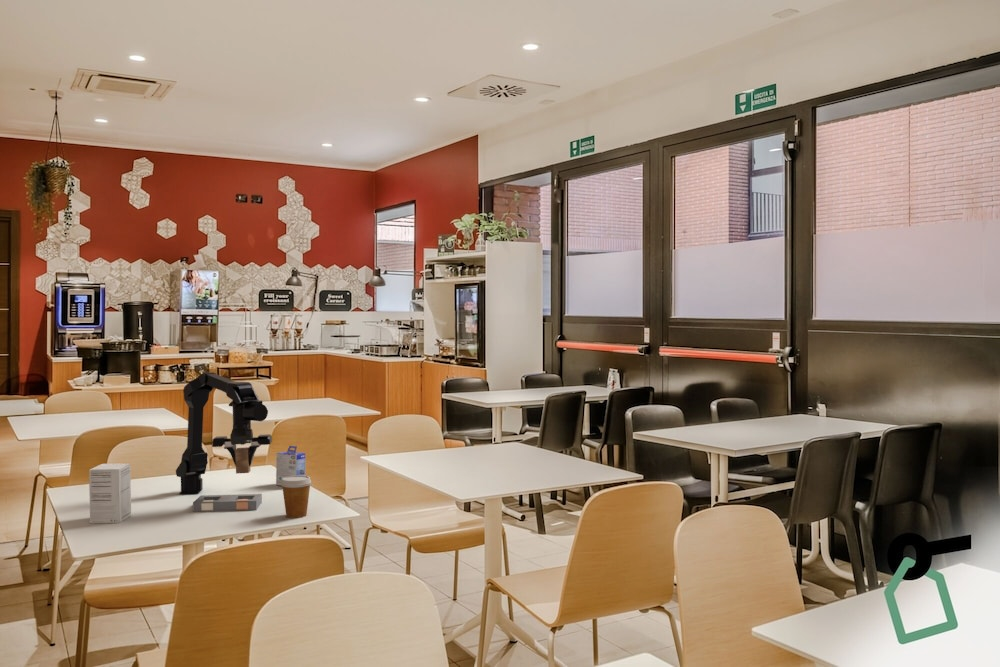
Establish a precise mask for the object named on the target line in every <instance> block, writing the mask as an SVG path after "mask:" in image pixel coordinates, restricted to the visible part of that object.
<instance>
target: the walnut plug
mask: <svg viewBox="0 0 1000 667" xmlns="http://www.w3.org/2000/svg"><path fill="white" fill-rule="evenodd" d="M249 452H250V449H249V446H248V447H246V446H245V447H236V450H235V455H236V466H235V474H249V473H250V472H251V466H249Z"/></svg>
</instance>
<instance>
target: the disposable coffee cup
mask: <svg viewBox="0 0 1000 667" xmlns="http://www.w3.org/2000/svg"><path fill="white" fill-rule="evenodd" d="M281 484H282V486H281V487H282V494H283V495H282V496H283V501H284V502H283V503H284V508H285V517H286V518H289V517H290V518H289V519H291V518H292V519H299V518H298V517H300V518H303V516H304V517H306V516H308V515H307V514H308V513H307V512H308V506H309V497H310V488H311V484H312V480H311V477H310V476H309V475H305V476H303V475H295V476H287V477H284V478H282V482H281Z"/></svg>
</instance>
